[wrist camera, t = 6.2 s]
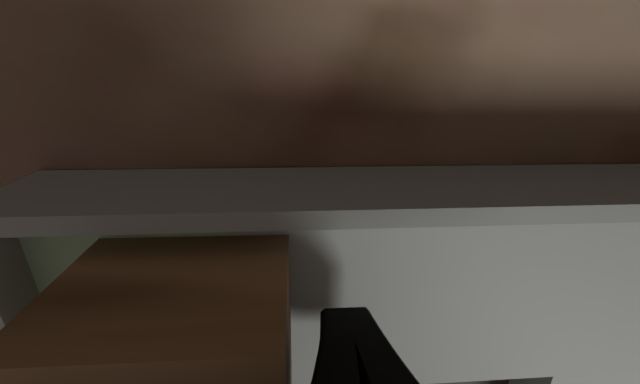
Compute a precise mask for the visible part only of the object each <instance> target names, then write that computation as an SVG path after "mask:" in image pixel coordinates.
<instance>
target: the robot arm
mask: <svg viewBox="0 0 640 384" xmlns="http://www.w3.org/2000/svg"><path fill="white" fill-rule="evenodd" d="M311 384H420V383H419V382H418V381H417V379H416V378H415V377H414V375H413V374H412V373H411V371H410V370H409V369H408V367H407V366H406V365H405V363H404V362H403V361H402V359H401V358H400V357H399V355H398V354H397V353H396V351H395V350H394V348H393V347H392V345H391V344H390V343H389V341H388V340H387V338H386V337H385V335H384V334H383V332H382V331H381V329H380V328H379V326H378V324H377V323H376V321H375V320H374V318H373V316H372V315H371V313H370V311H369V310H368V309H367V308H366V307H347V308H325V309H323V310H322V311H321V312H320V341H319V348H318V353H317V358H316V363H315V367H314V372H313V377H312V381H311Z"/></svg>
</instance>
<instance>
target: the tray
mask: <svg viewBox="0 0 640 384" xmlns="http://www.w3.org/2000/svg"><path fill="white" fill-rule="evenodd" d="M251 235H289V265H290V312H291V360H292V382H291V384H311V381H312V377H313V372H314V367H315V363H316V358H317V353H318V348H319V341H320V312H321V311H322V310H323V309H325V308H347V307H366V308H367V309H368V310H369V311H370V313H371V315H372V316H373V318H374V320H375V321H376V323H377V324H378V326H379V328H380V329H381V331H382V332H383V334H384V335H385V337H386V338H387V340H388V341H389V343H390V344H391V345H392V347H393V348H394V350H395V351H396V353H397V354H398V355H399V357H400V358H401V359H402V361H403V362H404V363H405V365H406V366H407V367H408V369H409V370H410V371H411V373H412V374H413V375H414V377H415V378H416V379H417V381H418V382H419V383H420V384H640V164H558V165H471V166H383V167H295V168H208V169H120V170H38V171H36V172H34V173H32V174H29V175H27V176H25V177H23V178H21V179H18V180H16V181H14V182H12V183H9V184H7V185H5V186H3V187H1V188H0V330H1V329H2V328H3V327H4V326H6V325H7V324H8V323H9V322H10V321H11V320H12V319H13V318H14V317H15V316H16V315H17V314H18V313H19V312H21V311H22V310H23V309H24V308H25V307H26V306H27V305H28V304H29V303H30V302H31V301H32V300H33V299H34V298H35V297H37V296H38V295H39V294H40V293H41V292H42V291H43V290H44V289H45V288H46V287H47V286H48V285H49V284H50V283H52V282H53V281H54V280H55V279H56V278H57V277H58V276H59V275H60V274H61V273H62V272H63V271H64V270H65V269H67V268H68V267H69V266H70V265H71V264H72V263H73V262H74V261H75V260H76V259H77V258H78V257H79V256H80V255H82V254H83V253H84V252H85V251H86V250H87V249H88V248H89V247H90V246H91V245H92V244H93V243H94V242H95V241H97V240H98V239H100V238H150V237H200V236H251Z"/></svg>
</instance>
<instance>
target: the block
mask: <svg viewBox="0 0 640 384" xmlns="http://www.w3.org/2000/svg"><path fill="white" fill-rule="evenodd" d="M291 382H292V360H291V312H290V265H289V235H251V236H200V237H150V238H100V239H98V240H97V241H95V242H94V243H93V244H92V245H91V246H90V247H89V248H88V249H87V250H86V251H85V252H84V253H83V254H82V255H80V256H79V257H78V258H77V259H76V260H75V261H74V262H73V263H72V264H71V265H70V266H69V267H68V268H67V269H65V270H64V271H63V272H62V273H61V274H60V275H59V276H58V277H57V278H56V279H55V280H54V281H53V282H52V283H50V284H49V285H48V286H47V287H46V288H45V289H44V290H43V291H42V292H41V293H40V294H39V295H38V296H37V297H35V298H34V299H33V300H32V301H31V302H30V303H29V304H28V305H27V306H26V307H25V308H24V309H23V310H22V311H21V312H19V313H18V314H17V315H16V316H15V317H14V318H13V319H12V320H11V321H10V322H9V323H8V324H7V325H6V326H4V327H3V328H2V329H1V330H0V384H291Z"/></svg>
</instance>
